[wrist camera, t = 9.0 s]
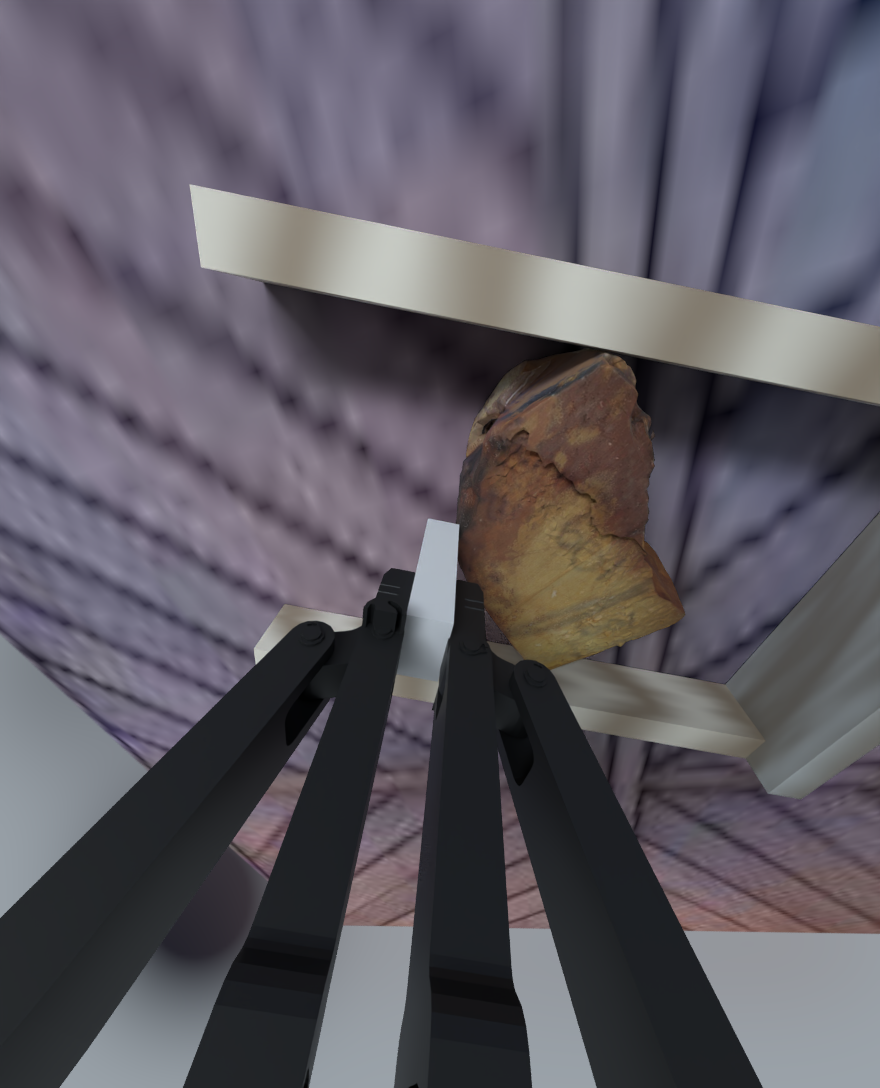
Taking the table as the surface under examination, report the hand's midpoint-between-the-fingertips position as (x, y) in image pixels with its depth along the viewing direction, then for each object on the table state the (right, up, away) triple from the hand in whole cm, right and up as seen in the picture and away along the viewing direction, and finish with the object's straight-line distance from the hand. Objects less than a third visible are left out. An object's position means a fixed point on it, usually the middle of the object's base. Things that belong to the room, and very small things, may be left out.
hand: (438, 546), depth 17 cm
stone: (+6, +1, +3) cm, 7 cm away
